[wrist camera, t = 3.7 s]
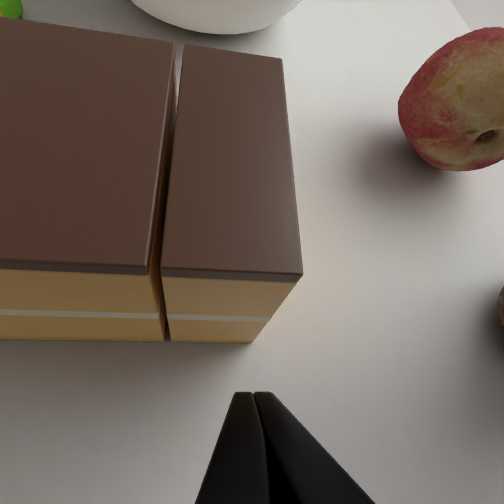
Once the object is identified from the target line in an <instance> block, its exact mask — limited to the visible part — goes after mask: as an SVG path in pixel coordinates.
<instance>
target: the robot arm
mask: <svg viewBox="0 0 504 504" xmlns="http://www.w3.org/2000/svg"><path fill="white" fill-rule="evenodd" d="M195 504H375V502H374V501H373V500H372V499H371V498H370V497H369V496H368V495H367V494H366V493H365V492H364V491H363V490H362V488H361V487H360V486H359V485H358V484H357V483H356V482H355V481H354V480H353V479H352V478H351V477H350V476H349V475H348V473H347V472H346V471H345V470H344V469H343V468H342V467H341V466H340V465H339V464H338V463H337V462H336V461H335V459H334V458H333V457H332V456H331V455H330V454H329V453H328V452H327V451H326V450H325V449H324V448H323V447H322V445H321V444H320V443H319V442H318V441H317V440H316V439H315V438H314V437H313V436H312V435H311V434H310V433H309V432H308V430H307V429H306V428H305V427H304V426H303V425H302V424H301V423H300V422H299V421H298V420H297V419H296V418H295V416H294V415H293V414H292V413H291V412H290V411H289V410H288V409H287V408H286V407H285V406H284V405H283V404H282V403H281V401H280V400H279V399H278V398H277V397H276V396H275V395H274V394H273V393H271V392H255V393H254V394H253V393H251V392H235V393H234V395H233V398H232V400H231V403H230V406H229V409H228V412H227V415H226V417H225V420H224V423H223V426H222V429H221V431H220V434H219V437H218V440H217V443H216V446H215V448H214V451H213V454H212V457H211V460H210V462H209V465H208V468H207V471H206V474H205V476H204V479H203V482H202V485H201V488H200V491H199V493H198V496H197V499H196V502H195Z"/></svg>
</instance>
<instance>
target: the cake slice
mask: <svg viewBox="0 0 504 504" xmlns="http://www.w3.org/2000/svg"><path fill="white" fill-rule="evenodd" d="M160 271H161V279H162V285H163V292H164V298H165V305H166V314H167V319H168V324H169V331H170V337H171V341H172V342H232V343H252V342H253V341H254V339H255V338H256V337H257V335H258V334H259V333H260V331H261V330H262V329H263V327H264V326H265V325H266V323H267V322H268V321H269V320H270V319H271V318H272V316H273V314H274V313H275V312H276V310H277V309H278V308H279V306H280V305H281V304H282V302H283V301H284V300H285V298H286V297H287V296H288V294H289V293H290V292H291V290H292V289H293V288H294V286H295V285H296V284H297V282H298V281H299V279H300V278H301V277H302V275H303V266H302V256H301V246H300V236H299V226H298V216H297V206H296V196H295V185H294V175H293V165H292V155H291V145H290V135H289V125H288V114H287V104H286V94H285V84H284V74H283V64H282V59H280V58H273V57H267V56H260V55H254V54H247V53H240V52H234V51H227V50H221V49H214V48H207V47H201V46H194V45H188V44H185V45H184V49H183V58H182V67H181V76H180V85H179V95H178V104H177V113H176V122H175V131H174V141H173V150H172V159H171V168H170V177H169V186H168V196H167V205H166V214H165V223H164V232H163V242H162V251H161V260H160Z"/></svg>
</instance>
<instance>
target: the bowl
mask: <svg viewBox="0 0 504 504" xmlns="http://www.w3.org/2000/svg"><path fill="white" fill-rule="evenodd" d="M131 1H132V2H133V3H134V4H135V5H136V6H138V7H139V8H141V9H142V10H144V11H145V12H146V13H148V14H150V15H152V16H154V17H156V18H158V19H160V20H162V21H164V22H166V23H169V24H172V25H175V26H178V27H180V28H184V29H188V30H193V31H197V32H203V33H212V34H241V33H248V32H254V31H257V30H260V29H263V28H266V27H268V26H269V25H271V24H273V23H275V22H276V21H278V20H279V19H280V18H282V17H283V16H284V15H286V14H287V13H288V12H290V11H291V10H292V9H293V8H294V7H295V6H296V5H297V4H298V3H299V2H300V1H301V0H131Z"/></svg>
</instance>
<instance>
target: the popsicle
mask: <svg viewBox="0 0 504 504" xmlns="http://www.w3.org/2000/svg"><path fill="white" fill-rule="evenodd" d="M22 14H23V6H22V3H21V0H0V16H1V17H8V18H14V19H18V18H19V17H20V16H21V15H22Z"/></svg>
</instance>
